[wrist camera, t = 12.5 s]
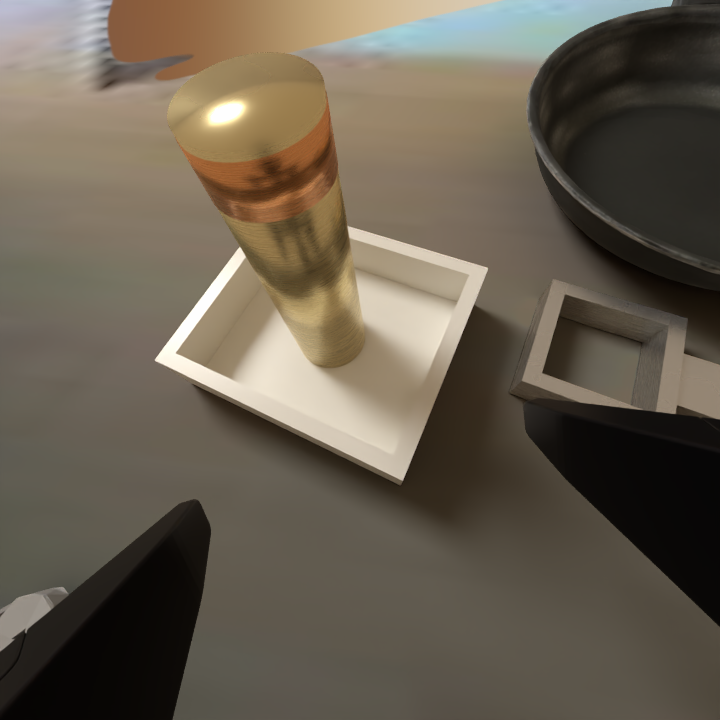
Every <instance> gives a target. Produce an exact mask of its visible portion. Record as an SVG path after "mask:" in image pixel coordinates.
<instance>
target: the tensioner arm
mask: <svg viewBox="0 0 720 720" xmlns="http://www.w3.org/2000/svg"><path fill="white" fill-rule="evenodd" d="M558 316H560V317H563V318H566V319H570V320H573V321H576V322H579V323H582V324H585V325H589V326H592V327H595V328H598V329H601V330H604V331H607V332H611V333H614V334H617V335H620V336H623V337H626V338H629V339H633V340H636V341H639V342H642V348H641V354H640V360H639V365H638V371H637V376H636V382H635V388H634V393H633V399H632V404H631V405H629V404H626V403H623V402H620V401H618V400H615V399H612V398H609V397H607V396H604V395H601V394H598V393H595V392H593V391H590V390H587V389H584V388H582V387H579V386H576V385H573V384H571V383H568V382H565V381H562V380H560V379H557V378H554V377H551V376H548V375H546V374H543V373H542V371H543V368H544V364H545V361H546V358H547V354H548V351H549V347H550V344H551V340H552V337H553V333H554V330H555V327H556V323H557V320H558ZM687 321H688V318H685V317H681V316H678V315H675V314H671V313H668V312H664V311H661V310H658V309H654V308H651V307H647V306H644V305H640V304H637V303H634V302H630V301H627V300H623V299H620V298H617V297H613V296H610V295H606V294H603V293H599V292H596V291H593V290H589V289H586V288H582V287H579V286H576V285H572V284H569V283H565V282H562V281H558V280H555V279H553V280H552V282H551V283H550V285H549V286H548V287H547V289H546V290H545V291H544V293H543V294H542V296H541V297H540V298H539V301H538V304H537V307H536V310H535V314H534V317H533V320H532V323H531V326H530V329H529V332H528V335H527V338H526V342H525V345H524V348H523V351H522V354H521V357H520V360H519V363H518V367H517V370H516V373H515V376H514V379H513V382H512V385H511V388H510V391H509V393H510V394H513V395H516V396H518V397H521V398H523V399H526V400H532V399H535V398H547V399H555V400H563V401H572V402H580V403H588V404H597V405H605V406H613V407H622V408H630V409H638V410H646V411H655V412H663V413H671V414H680V415H688V416H696V417H699V418H702V417H705V418H714V419H720V365H718V364H715V363H712V362H709V361H706V360H703V359H699V358H696V357H693V356H690V355H687V354H684V345H685V337H686V329H687Z"/></svg>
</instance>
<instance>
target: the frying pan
mask: <svg viewBox="0 0 720 720" xmlns="http://www.w3.org/2000/svg"><path fill="white" fill-rule="evenodd" d="M527 120H528V127H529V131H530V134H531V138H532V140H533V143H534V145H535V151H536V156H537V160H538V164H539V168H540V171H541V174H542V176H543V179H544V181H545V183H546V185H547V187H548V189H549V191H550V193H551V195H552V196H553V198H554V199H555V201H556V202H557V204H558V205H559V206H560V208H561V209H562V211H563V212H564V213H565V214H566V215H567V216H568V217H569V218H570V219H571V221H572V222H573V223H574V224H575V225H576V226H577V227H578V228H580V229H581V230H582V231H583V232H584V233H585V234H586V235H587V236H589V237H590V238H591V239H593V240H594V241H595V242H596V243H598V244H599V245H601V246H602V247H604V248H605V249H607V250H608V251H610V252H612V253H613V254H615V255H617V256H618V257H620V258H622V259H624V260H626V261H628V262H630V263H632V264H634V265H636V266H638V267H640V268H642V269H645V270H647V271H649V272H652V273H654V274H657V275H660V276H663V277H665V278H668V279H671V280H674V281H677V282H681V283H684V284H688V285H691V286H696V287H700V288H705V289H710V290H715V291H720V0H673V3H672V5H671V7H662V8H655V9H650V10H645V11H640V12H635V13H631V14H627V15H623V16H619V17H617V18H614V19H611V20H608V21H605V22H602V23H600V24H597V25H595V26H592V27H590V28H588V29H586V30H584V31H582V32H580V33H578V34H577V35H575V36H574V37H572V38H570V39H569V40H568V41H566V42H565V43H564V44H562V45H561V46H560V47H558V48H557V49H556V50H555V51H554V52H553V53H552V54H551V55H550V56H549V57H548V58H547V59H546V60H545V61H544V63H543V64H542V65H541V67H540V68H539V70H538V71H537V73H536V75H535V77H534V79H533V82H532V84H531V87H530V89H529V94H528V98H527Z"/></svg>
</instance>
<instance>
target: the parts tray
mask: <svg viewBox="0 0 720 720" xmlns="http://www.w3.org/2000/svg"><path fill="white" fill-rule="evenodd" d="M348 232H349V238H350V244H351V250H352V257H353V263H354V269H355V275H356V281H357V287H358V293H359V300H360V306H361V312H362V318H363V324H364V330H365V342H364V346H363V348H362V350H361V352H360V353H359V355H358V356H357V357H356V358H355V359H354V360H352V361H351V362H350V363H348V364H346V365H344V366H341V367H337V368H323V367H319V366H317V365H315V364H313V363H311V362H310V361H309V360H308V359H307V358H306V357H305V356H304V354H303V353H302V351H301V349H300V347H299V346H298V344H297V342H296V341H295V339H294V337H293V336H292V334H291V332H290V331H289V329H288V327H287V325H286V324H285V322H284V320H283V319H282V317H281V315H280V314H279V312H278V310H277V308H276V307H275V305H274V303H273V302H272V300H271V298H270V297H269V295H268V293H267V292H266V290H265V288H264V286H263V285H262V283H261V281H260V280H259V278H258V276H257V275H256V273H255V271H254V269H253V268H252V266H251V264H250V263H249V261H248V259H247V258H246V256H245V254H244V253H243V251H242V249H241V247H239V249H238V250H237V251H236V253H235V254H234V255H233V257H232V258H231V259H230V261H229V262H228V263H227V265H226V266H225V267H224V269H223V270H222V271H221V273H220V274H219V275H218V277H217V278H216V279H215V281H214V282H213V283H212V285H211V286H210V287H209V289H208V290H207V291H206V293H205V294H204V295H203V297H202V298H201V299H200V301H199V302H198V303H197V305H196V306H195V307H194V308H193V310H192V311H191V312H190V314H189V315H188V316H187V318H186V319H185V320H184V322H183V323H182V324H181V326H180V327H179V328H178V330H177V331H176V332H175V334H174V335H173V336H172V338H171V339H170V340H169V342H168V343H167V344H166V346H165V347H164V348H163V350H162V351H161V352H160V354H159V355H158V356H157V358H156V359H155V361H156V362H158V363H160V364H161V365H163V366H164V367H166V368H168V369H169V370H171V371H172V372H174V373H176V374H177V375H179V376H181V377H182V378H184V379H185V380H187V381H189V382H190V383H192V384H194V385H196V386H198V387H200V388H202V389H204V390H206V391H208V392H210V393H212V394H215V395H217V396H219V397H221V398H223V399H225V400H227V401H229V402H231V403H233V404H235V405H237V406H239V407H241V408H243V409H245V410H247V411H249V412H251V413H253V414H255V415H257V416H259V417H261V418H263V419H266V420H268V421H270V422H272V423H274V424H276V425H278V426H280V427H282V428H284V429H286V430H288V431H290V432H292V433H294V434H296V435H298V436H300V437H302V438H304V439H306V440H308V441H310V442H312V443H315V444H317V445H319V446H321V447H323V448H325V449H327V450H329V451H331V452H333V453H335V454H337V455H339V456H341V457H343V458H345V459H347V460H349V461H351V462H353V463H355V464H357V465H359V466H361V467H363V468H366V469H368V470H370V471H372V472H374V473H376V474H378V475H380V476H382V477H384V478H386V479H388V480H390V481H392V482H394V483H396V484H398V485H400V486H401V484H402V482H403V480H404V477H405V475H406V472H407V470H408V467H409V465H410V462H411V460H412V457H413V455H414V452H415V450H416V447H417V445H418V442H419V440H420V437H421V435H422V432H423V430H424V427H425V425H426V422H427V420H428V417H429V415H430V412H431V410H432V407H433V405H434V402H435V400H436V397H437V395H438V392H439V390H440V387H441V385H442V382H443V380H444V377H445V375H446V372H447V370H448V368H449V365H450V363H451V360H452V358H453V355H454V353H455V350H456V348H457V345H458V343H459V340H460V338H461V335H462V333H463V330H464V328H465V325H466V323H467V320H468V318H469V315H470V313H471V310H472V308H473V305H474V303H475V300H476V298H477V295H478V293H479V290H480V288H481V285H482V283H483V280H484V278H485V275H486V273H487V270H488V268H486V267H483V266H480V265H476V264H473V263H469V262H466V261H463V260H459V259H456V258H453V257H449V256H446V255H443V254H439V253H436V252H433V251H429V250H426V249H423V248H419V247H416V246H413V245H409V244H406V243H403V242H399V241H396V240H392V239H389V238H386V237H382V236H379V235H376V234H372V233H369V232H366V231H362V230H359V229H356V228H352V227H349V226H348Z"/></svg>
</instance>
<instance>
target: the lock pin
mask: <svg viewBox="0 0 720 720" xmlns="http://www.w3.org/2000/svg"><path fill="white" fill-rule="evenodd" d="M167 120H168V124H169V127H170V129H171V131H172V132H173V134H174V136H175V138H176V141H177V142H178V144H179V146H180V147H181V149H182V151H183V152H184V154H185V156H186V157H187V159H188V161H189V163H190V164H191V166H192V168H193V169H194V171H195V173H196V174H197V176H198V178H199V179H200V181H201V183H202V184H203V186H204V188H205V190H206V191H207V193H208V195H209V196H210V198H211V200H212V201H213V203H214V205H215V206H216V207H217V208H218V210H219V212H220V214H221V215H222V217H223V219H224V220H225V222H226V224H227V225H228V227H229V229H230V231H231V232H232V234H233V236H234V237H235V239H236V241H237V242H238V244H239V246H240V247H241V249H242V251H243V253H244V254H245V256H246V258H247V259H248V261H249V263H250V264H251V266H252V268H253V269H254V271H255V273H256V275H257V276H258V278H259V280H260V281H261V283H262V285H263V286H264V288H265V290H266V292H267V293H268V295H269V297H270V298H271V300H272V302H273V303H274V305H275V307H276V308H277V310H278V312H279V314H280V315H281V317H282V319H283V320H284V322H285V324H286V325H287V327H288V329H289V331H290V332H291V334H292V336H293V337H294V339H295V341H296V342H297V344H298V346H299V347H300V349H301V351H302V353H303V354H304V356H305V357H306V358H307V359H308V360H309V361H310V362H311V363H313V364H315V365H317V366H319V367H323V368H337V367H341V366H344V365H346V364H348V363H350V362H351V361H352V360H354V359H355V358H356V357H357V356H358V355H359V353H360V352H361V350H362V348H363V346H364V342H365V330H364V324H363V318H362V312H361V306H360V300H359V293H358V287H357V281H356V275H355V269H354V263H353V257H352V250H351V244H350V238H349V232H348V226H347V220H346V214H345V207H344V201H343V195H342V189H341V183H340V177H339V171H338V160H337V154H336V148H335V142H334V136H333V129H332V123H331V117H330V111H329V105H328V98H327V93H326V90H325V85H324V80H323V77H322V75H321V73H320V71H319V70H318V69H317V68H316V67H315V66H314V65H313V64H312V63H310V62H309V61H307V60H305V59H303V58H301V57H298V56H294V55H290V54H285V53H271V52H269V53H268V52H267V53H255V54H248V55H243V56H238V57H235V58H231V59H228V60H225V61H222V62H220V63H217V64H215V65H213V66H211V67H209V68H207V69H205V70H203V71H201V72H200V73H198V74H196V75H195V76H194V77H192V78H191V79H190V80H188V81H187V82H186V83H185V84H184V85H183V86H182V87H181V88H180V89H179V90H178V91H177V93H176V94H175V95H174V97H173V99H172V101H171V102H170V105H169V108H168V113H167Z"/></svg>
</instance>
